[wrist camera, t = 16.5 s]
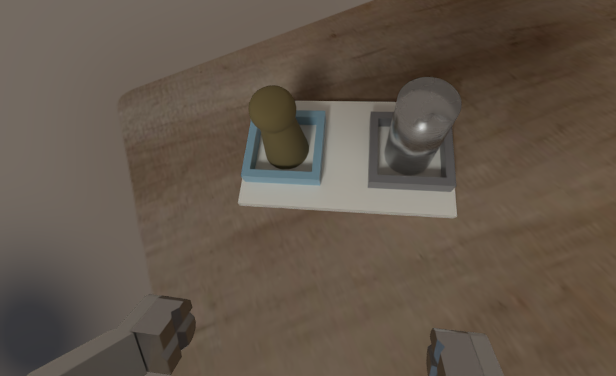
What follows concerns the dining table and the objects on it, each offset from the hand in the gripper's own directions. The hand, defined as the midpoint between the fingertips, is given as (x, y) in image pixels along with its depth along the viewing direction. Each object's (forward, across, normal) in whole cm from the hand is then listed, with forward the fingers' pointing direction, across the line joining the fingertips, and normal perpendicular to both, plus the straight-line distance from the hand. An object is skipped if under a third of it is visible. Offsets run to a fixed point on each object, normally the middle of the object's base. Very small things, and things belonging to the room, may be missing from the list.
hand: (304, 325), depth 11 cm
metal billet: (+33, -8, +4) cm, 34 cm away
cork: (+33, +8, +4) cm, 34 cm away
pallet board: (+34, 0, +5) cm, 34 cm away
